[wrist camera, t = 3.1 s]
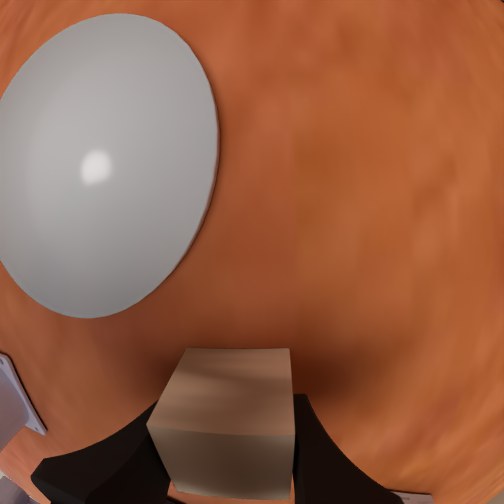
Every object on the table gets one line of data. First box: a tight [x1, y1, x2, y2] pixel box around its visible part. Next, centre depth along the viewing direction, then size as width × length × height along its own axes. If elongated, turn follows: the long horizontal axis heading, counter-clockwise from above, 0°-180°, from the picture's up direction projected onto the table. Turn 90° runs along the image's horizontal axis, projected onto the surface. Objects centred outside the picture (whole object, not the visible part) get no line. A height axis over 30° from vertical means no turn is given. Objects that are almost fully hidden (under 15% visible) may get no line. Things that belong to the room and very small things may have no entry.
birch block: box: [146, 347, 295, 500], centre depth 10 cm, size 4×4×5 cm
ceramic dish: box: [0, 13, 220, 318], centre depth 10 cm, size 14×14×1 cm
